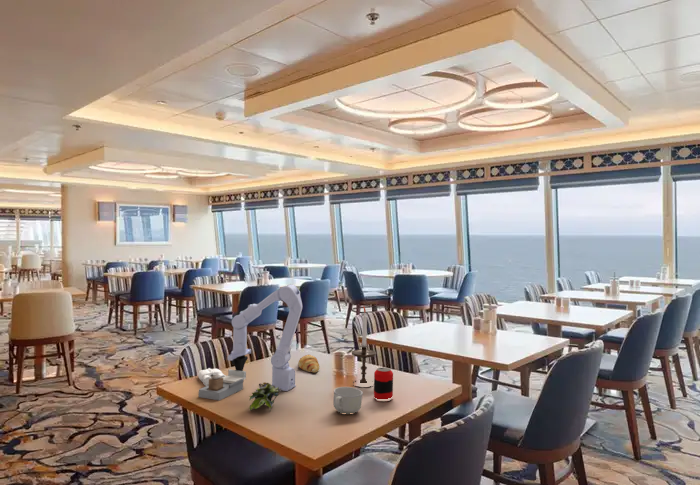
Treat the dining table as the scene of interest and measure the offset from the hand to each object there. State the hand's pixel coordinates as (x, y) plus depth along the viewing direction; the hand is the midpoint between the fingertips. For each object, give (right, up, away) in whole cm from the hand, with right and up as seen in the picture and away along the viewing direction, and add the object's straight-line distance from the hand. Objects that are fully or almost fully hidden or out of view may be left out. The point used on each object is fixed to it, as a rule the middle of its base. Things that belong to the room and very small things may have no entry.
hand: (239, 373), depth 211 cm
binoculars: (-14, -5, +6) cm, 16 cm away
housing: (-5, -5, -12) cm, 14 cm away
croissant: (+27, -6, +29) cm, 40 cm away
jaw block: (-6, -5, -15) cm, 17 cm away
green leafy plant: (+16, -6, -29) cm, 34 cm away
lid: (-2, -2, -5) cm, 5 cm away
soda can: (+62, -6, -16) cm, 64 cm away
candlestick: (+54, -6, +4) cm, 55 cm away
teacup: (+46, -6, -32) cm, 57 cm away
